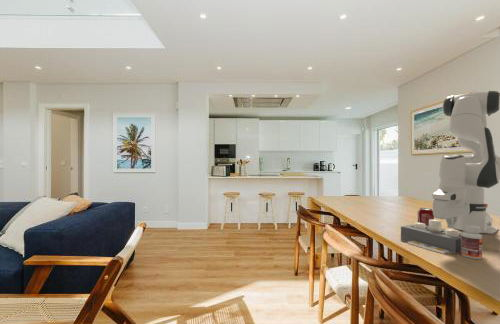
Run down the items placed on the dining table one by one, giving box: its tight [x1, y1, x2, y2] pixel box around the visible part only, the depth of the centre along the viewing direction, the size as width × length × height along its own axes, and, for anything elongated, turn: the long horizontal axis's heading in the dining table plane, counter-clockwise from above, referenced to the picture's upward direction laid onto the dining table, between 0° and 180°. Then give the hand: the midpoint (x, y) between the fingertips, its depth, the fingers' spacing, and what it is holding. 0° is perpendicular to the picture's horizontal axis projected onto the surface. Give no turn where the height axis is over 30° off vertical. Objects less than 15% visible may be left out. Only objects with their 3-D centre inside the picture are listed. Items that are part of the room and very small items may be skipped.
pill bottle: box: [460, 225, 483, 260], centre depth 99 cm, size 6×6×11 cm
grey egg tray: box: [400, 223, 462, 255], centre depth 114 cm, size 13×22×6 cm, turn 26°
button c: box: [444, 228, 460, 237], centre depth 108 cm, size 4×4×6 cm
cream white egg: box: [429, 219, 442, 233], centre depth 114 cm, size 4×4×6 cm
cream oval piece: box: [413, 221, 425, 229], centre depth 120 cm, size 4×4×6 cm
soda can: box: [417, 207, 435, 226], centre depth 131 cm, size 7×7×12 cm
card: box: [407, 241, 450, 255], centre depth 108 cm, size 4×14×1 cm, turn 26°
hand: (451, 227), depth 108 cm, fingers closed
